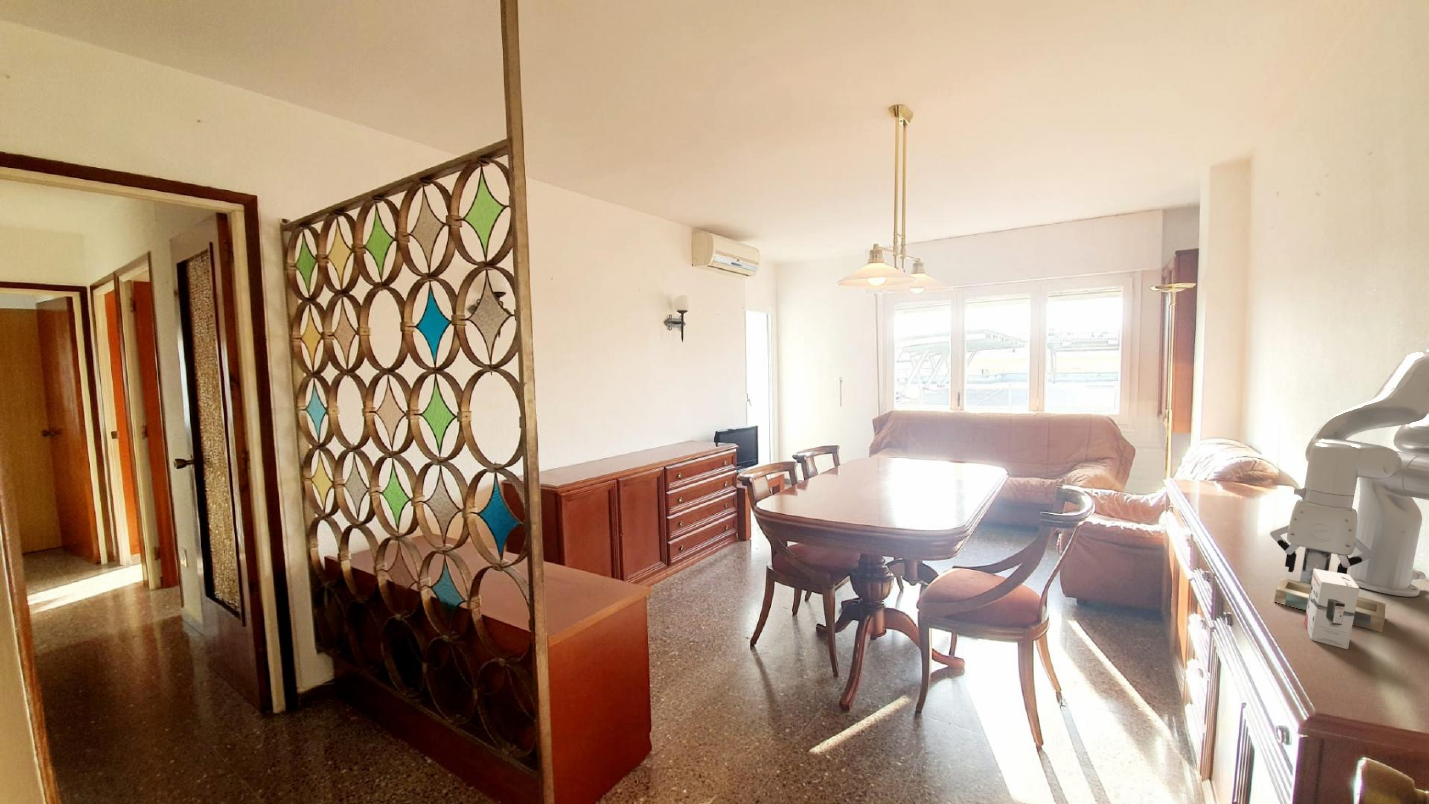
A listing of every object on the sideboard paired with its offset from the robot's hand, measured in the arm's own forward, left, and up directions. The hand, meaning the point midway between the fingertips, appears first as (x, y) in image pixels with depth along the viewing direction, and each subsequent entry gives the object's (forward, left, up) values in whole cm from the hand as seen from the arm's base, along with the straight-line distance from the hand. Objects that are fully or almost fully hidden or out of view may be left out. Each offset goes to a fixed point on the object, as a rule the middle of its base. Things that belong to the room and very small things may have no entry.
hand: (1313, 575), depth 126 cm
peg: (0, 0, -4) cm, 4 cm away
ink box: (+20, +18, -4) cm, 27 cm away
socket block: (+7, +8, -4) cm, 11 cm away
